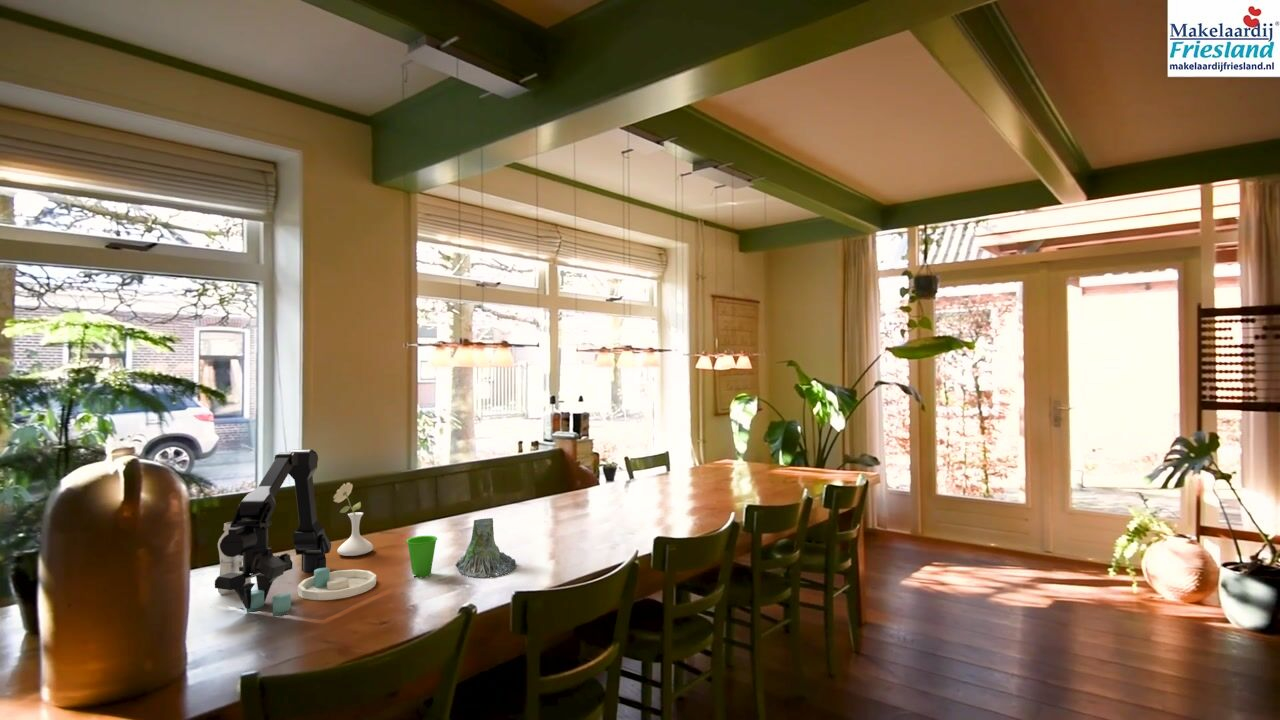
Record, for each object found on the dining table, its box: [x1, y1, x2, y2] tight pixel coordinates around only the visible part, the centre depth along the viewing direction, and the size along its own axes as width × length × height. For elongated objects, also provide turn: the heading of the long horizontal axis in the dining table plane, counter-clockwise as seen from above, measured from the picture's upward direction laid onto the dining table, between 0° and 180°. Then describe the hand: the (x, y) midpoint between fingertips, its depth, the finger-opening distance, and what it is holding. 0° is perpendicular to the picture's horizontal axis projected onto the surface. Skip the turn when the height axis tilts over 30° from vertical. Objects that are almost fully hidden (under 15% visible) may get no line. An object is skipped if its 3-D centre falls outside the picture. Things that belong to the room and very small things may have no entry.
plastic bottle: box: [217, 521, 243, 596], centre depth 179 cm, size 6×7×20 cm
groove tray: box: [297, 568, 377, 601], centre depth 181 cm, size 20×20×3 cm
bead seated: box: [313, 567, 331, 588], centre depth 183 cm, size 4×4×4 cm
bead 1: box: [245, 589, 265, 613], centre depth 167 cm, size 4×4×4 cm
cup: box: [405, 535, 438, 579], centre depth 195 cm, size 9×9×11 cm
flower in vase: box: [332, 482, 374, 557], centre depth 218 cm, size 13×11×25 cm
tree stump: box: [455, 517, 517, 579], centre depth 203 cm, size 18×20×18 cm
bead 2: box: [272, 592, 292, 617], centre depth 165 cm, size 4×4×4 cm
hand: (255, 605), depth 167 cm, fingers closed on bead 1, 4 cm apart
